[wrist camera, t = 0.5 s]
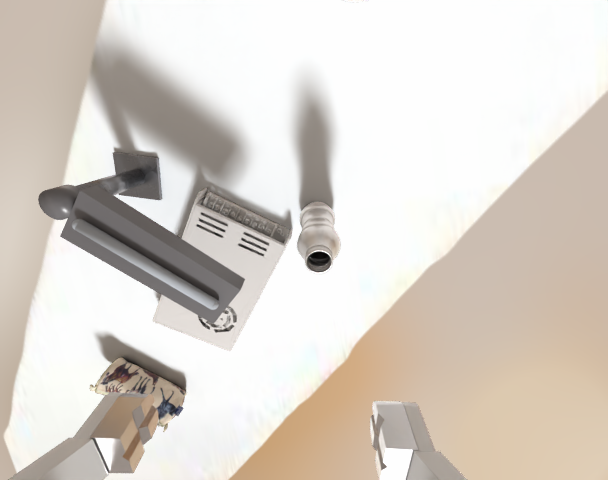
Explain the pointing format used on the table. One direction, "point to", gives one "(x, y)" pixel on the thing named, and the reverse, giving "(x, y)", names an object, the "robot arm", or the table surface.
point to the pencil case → (142, 388)
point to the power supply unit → (227, 264)
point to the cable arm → (142, 249)
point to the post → (132, 177)
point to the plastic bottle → (318, 237)
